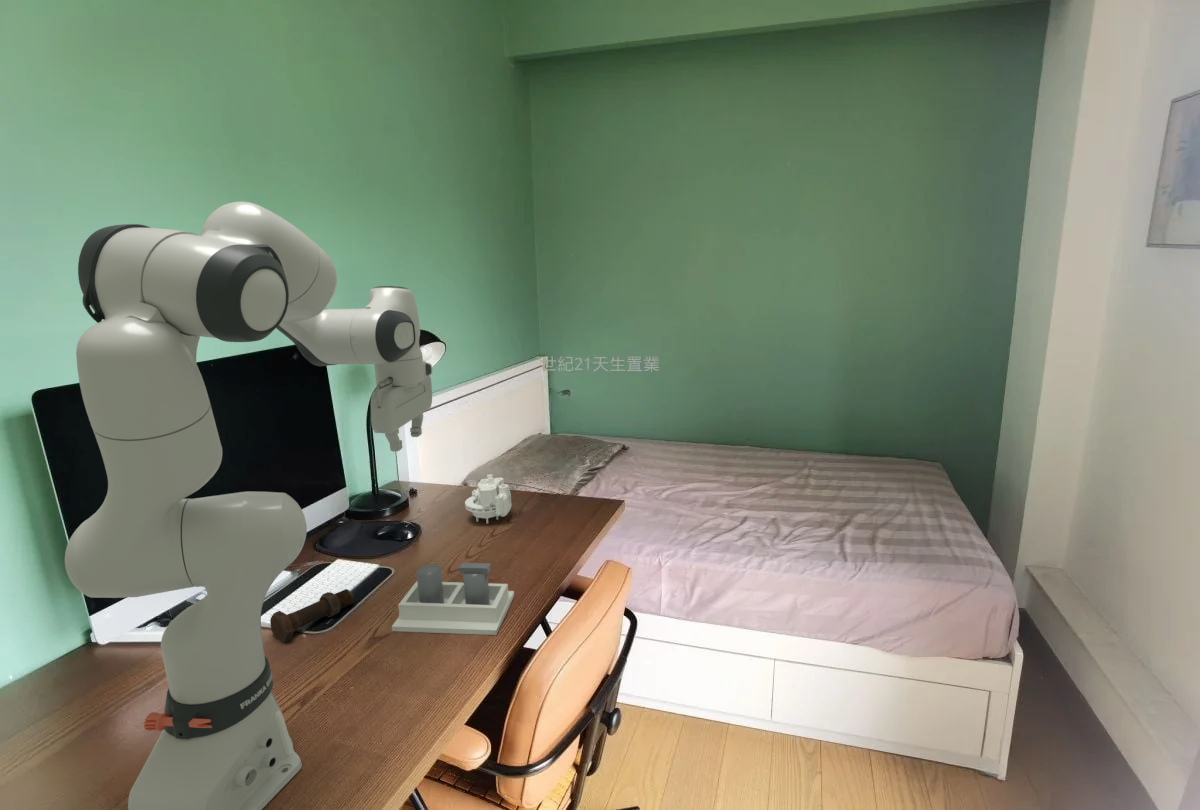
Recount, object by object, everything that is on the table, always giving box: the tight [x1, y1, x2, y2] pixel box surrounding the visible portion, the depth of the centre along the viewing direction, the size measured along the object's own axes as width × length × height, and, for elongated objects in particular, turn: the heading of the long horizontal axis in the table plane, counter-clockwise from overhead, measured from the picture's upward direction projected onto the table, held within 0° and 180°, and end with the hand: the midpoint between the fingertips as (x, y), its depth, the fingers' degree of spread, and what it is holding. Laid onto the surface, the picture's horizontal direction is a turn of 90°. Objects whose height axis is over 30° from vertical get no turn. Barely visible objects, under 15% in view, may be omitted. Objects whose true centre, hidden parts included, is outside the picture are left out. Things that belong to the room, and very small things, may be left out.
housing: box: [391, 562, 515, 636], centre depth 123 cm, size 14×20×10 cm
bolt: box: [269, 588, 355, 643], centre depth 122 cm, size 6×5×15 cm
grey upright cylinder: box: [415, 564, 444, 604], centre depth 124 cm, size 5×5×8 cm
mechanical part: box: [464, 474, 512, 524], centre depth 167 cm, size 11×12×12 cm
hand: (406, 443), depth 123 cm, fingers open, 8 cm apart
